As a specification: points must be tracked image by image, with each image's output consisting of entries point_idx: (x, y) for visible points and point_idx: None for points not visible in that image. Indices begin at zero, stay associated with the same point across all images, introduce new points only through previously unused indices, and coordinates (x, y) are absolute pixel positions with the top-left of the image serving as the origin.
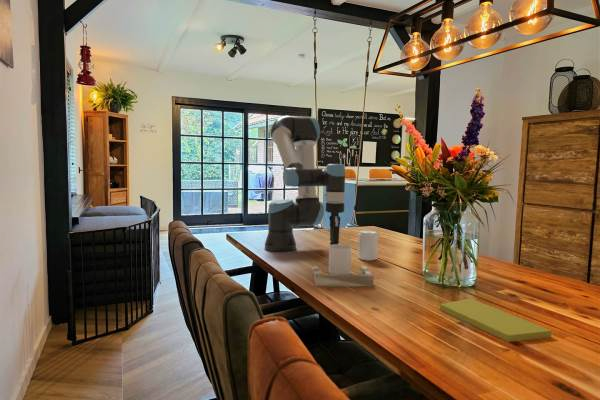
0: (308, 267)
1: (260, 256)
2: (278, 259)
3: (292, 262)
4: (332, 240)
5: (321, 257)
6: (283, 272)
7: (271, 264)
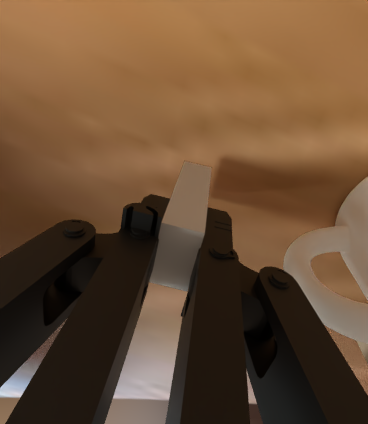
0: None
1: (19, 394)
2: None
3: None
4: (262, 356)
5: (16, 185)
6: None
7: (140, 397)
